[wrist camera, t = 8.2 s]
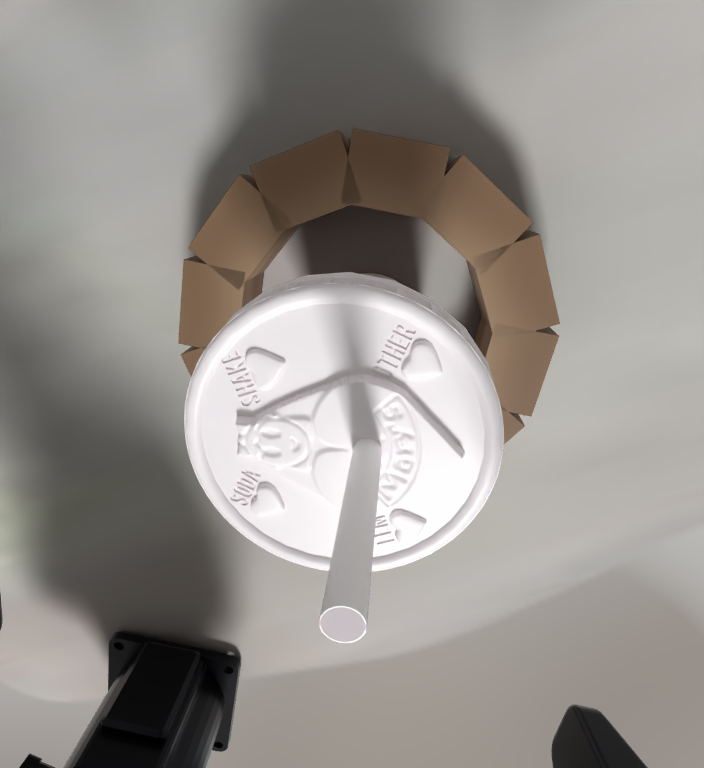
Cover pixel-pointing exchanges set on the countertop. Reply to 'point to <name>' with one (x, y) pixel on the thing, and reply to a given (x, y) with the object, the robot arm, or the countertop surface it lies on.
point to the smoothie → (345, 430)
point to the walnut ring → (396, 195)
